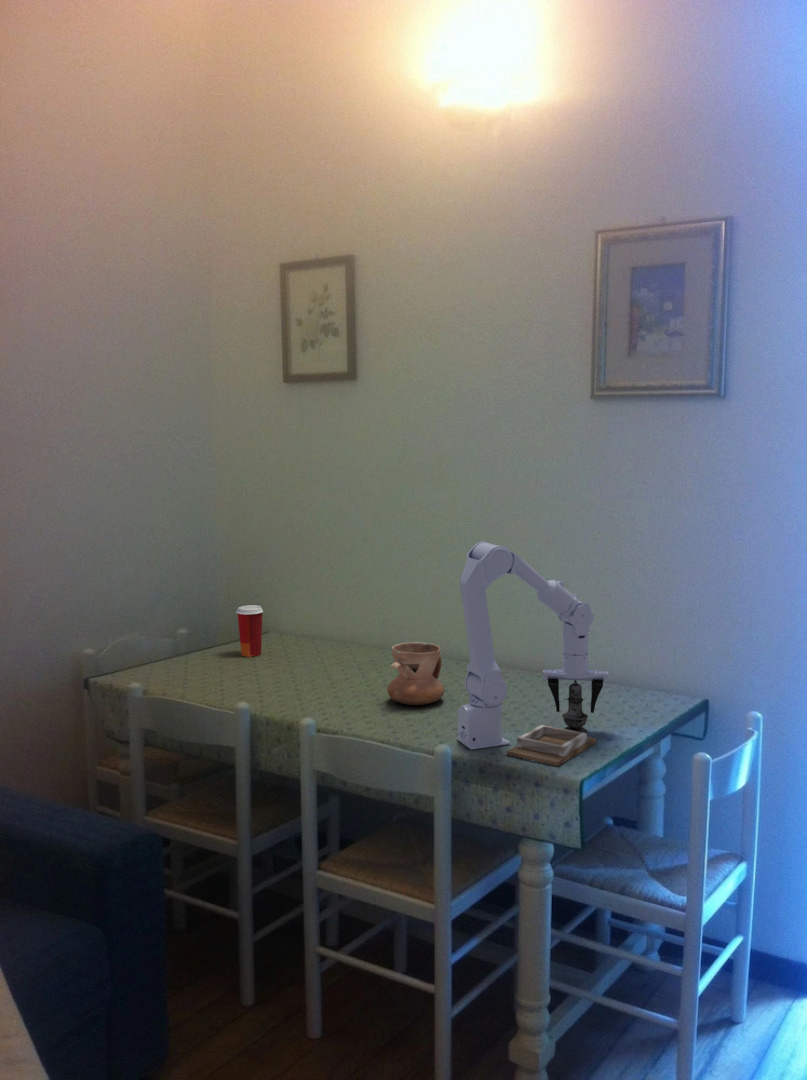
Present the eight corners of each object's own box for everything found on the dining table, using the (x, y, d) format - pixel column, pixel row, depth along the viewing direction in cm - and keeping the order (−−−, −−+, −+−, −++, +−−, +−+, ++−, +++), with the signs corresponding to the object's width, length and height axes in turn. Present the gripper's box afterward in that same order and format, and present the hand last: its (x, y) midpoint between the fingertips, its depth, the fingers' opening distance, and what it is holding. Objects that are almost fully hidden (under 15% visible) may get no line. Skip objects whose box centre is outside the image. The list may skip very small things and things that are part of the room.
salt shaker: (559, 727, 223) (559, 676, 221) (584, 726, 223) (584, 675, 222) (565, 735, 217) (565, 683, 215) (591, 734, 217) (591, 682, 216)
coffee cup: (265, 651, 302) (264, 604, 301) (263, 657, 294) (262, 609, 293) (238, 652, 302) (237, 605, 300) (236, 658, 294) (234, 610, 292)
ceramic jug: (413, 714, 234) (413, 657, 233) (372, 702, 245) (372, 647, 243) (461, 700, 247) (462, 645, 246) (420, 689, 257) (421, 637, 256)
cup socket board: (557, 766, 197) (558, 752, 197) (506, 755, 204) (506, 741, 204) (595, 742, 211) (596, 729, 211) (547, 733, 219) (547, 720, 218)
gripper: (607, 649, 221) (606, 707, 223) (543, 648, 224) (543, 705, 225) (608, 656, 214) (608, 716, 216) (542, 655, 217) (542, 713, 218)
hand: (575, 711), depth 220 cm, fingers open, 7 cm apart
